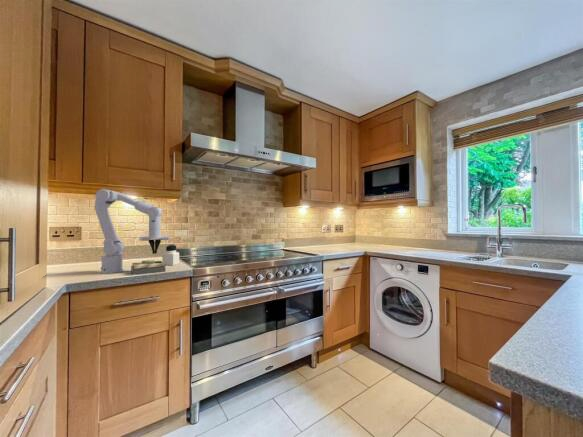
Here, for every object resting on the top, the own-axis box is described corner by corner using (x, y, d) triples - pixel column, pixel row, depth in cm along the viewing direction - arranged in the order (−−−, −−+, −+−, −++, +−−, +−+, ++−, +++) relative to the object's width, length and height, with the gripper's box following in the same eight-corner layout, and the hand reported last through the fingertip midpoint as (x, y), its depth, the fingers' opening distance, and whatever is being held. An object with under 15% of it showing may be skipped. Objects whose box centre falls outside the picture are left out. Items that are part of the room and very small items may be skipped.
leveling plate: (133, 268, 131) (133, 262, 131) (132, 265, 141) (132, 259, 141) (164, 266, 139) (164, 260, 139) (160, 262, 149) (160, 257, 149)
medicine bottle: (179, 263, 163) (179, 244, 163) (173, 265, 156) (173, 245, 156) (168, 263, 164) (168, 244, 164) (162, 265, 157) (162, 245, 157)
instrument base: (132, 275, 130) (132, 269, 130) (131, 270, 141) (131, 265, 141) (165, 271, 139) (165, 266, 139) (161, 267, 150) (161, 263, 150)
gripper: (140, 229, 134) (140, 255, 134) (170, 228, 143) (170, 253, 143) (139, 228, 140) (138, 253, 140) (168, 228, 148) (168, 252, 148)
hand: (154, 253), depth 142 cm, fingers closed
